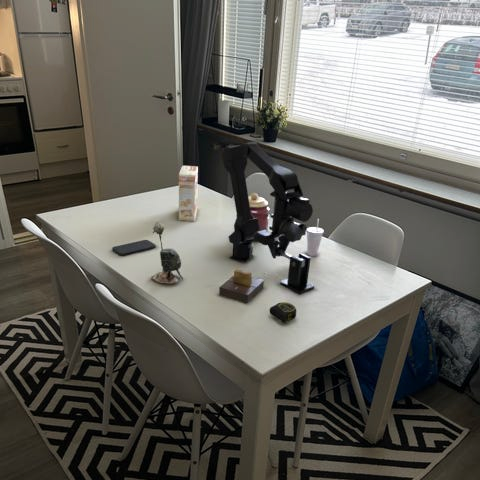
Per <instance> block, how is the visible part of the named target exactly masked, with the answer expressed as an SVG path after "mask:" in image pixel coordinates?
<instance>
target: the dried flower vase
mask: <svg viewBox="0 0 480 480" xmlns="http://www.w3.org/2000/svg"><path fill="white" fill-rule="evenodd" d="M164 229H165V227H164V226H163V225H162V223H160V222H156V223H155V224H154V226H153V228H152V230H153V231H152V234H155V233H156V235H159V236H158V237H159V241H160V247H161V250H160V252H159V256H160V265H161V268H162V270H161V271H157V272H156V273H155V274H154V275H152V276H151V277H150V279H152V280H153V281H155V282H157V283H159V284H172V285H173V284H174V285H175V284H177V283H178V282H179V281H181V280H182V281H184V277H183V275H181V272H180V268H181V267H182V261H181V256H180V254H179V253H178V252H177V251H176V249H174V248H170V247H169V248H167V247H166V248H163V242H162V235H163V233H164ZM175 271H176V273H177V274H178V275H176V274H175V273H173V272H175Z"/></svg>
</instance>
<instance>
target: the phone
mask: <svg viewBox="0 0 480 480" xmlns="http://www.w3.org/2000/svg"><path fill="white" fill-rule="evenodd" d="M156 247H157V245H156V244H155V243H153V242H152V241H151V240H148V239H142V240H137V241H133V242H128V243H124V244H120V245H115V246H112V248H111V249H112V251H113V252H115V253H116V254H118V256H119V255H120V256H127V255H130V254H135V253H139V252H142V251H143V252H144V251H147V250H151V249H156Z"/></svg>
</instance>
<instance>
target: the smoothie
mask: <svg viewBox="0 0 480 480" xmlns="http://www.w3.org/2000/svg"><path fill="white" fill-rule="evenodd" d="M319 223H320V218H317V221H316V226H310V227H306V232H305V233H306V255H307V256H309V257H317V255H318V252H319V248H320V246H321V242H322V239H323V235H324V229H323V228H321V227H319Z"/></svg>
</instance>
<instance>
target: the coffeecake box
mask: <svg viewBox="0 0 480 480" xmlns="http://www.w3.org/2000/svg"><path fill="white" fill-rule="evenodd" d="M198 173H199V166H196V165H181V168H180V170H179V173H178V221H187V222H195V221H196V217H197V212H198V180H199V179H198V177H199V174H198Z"/></svg>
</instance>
